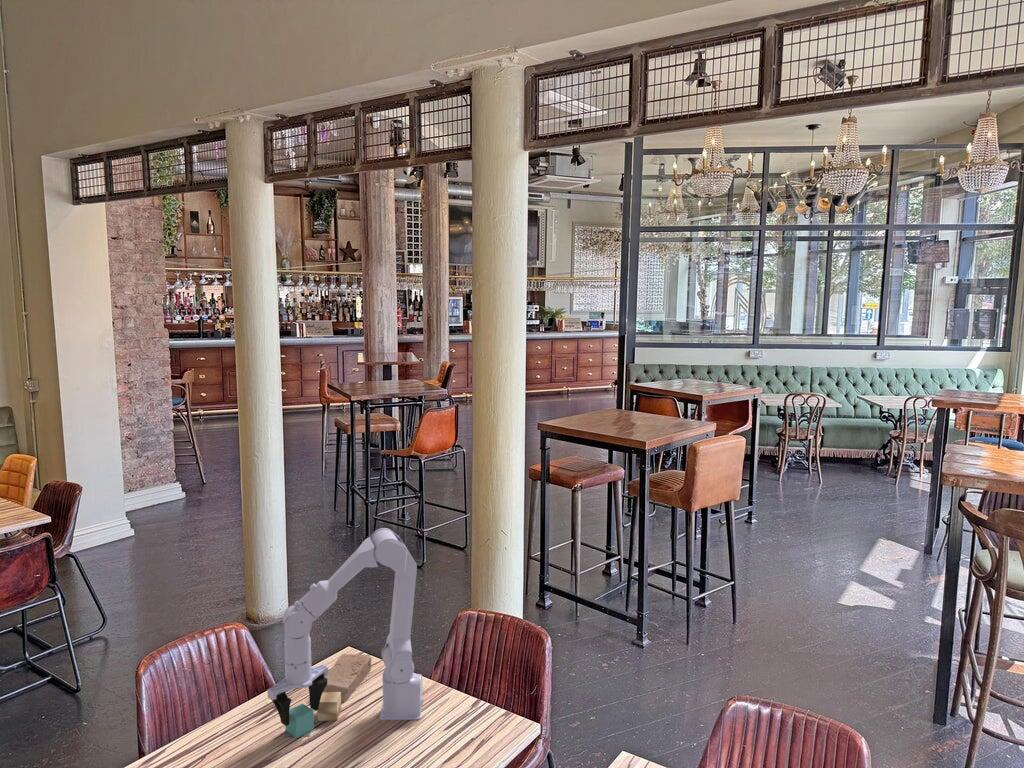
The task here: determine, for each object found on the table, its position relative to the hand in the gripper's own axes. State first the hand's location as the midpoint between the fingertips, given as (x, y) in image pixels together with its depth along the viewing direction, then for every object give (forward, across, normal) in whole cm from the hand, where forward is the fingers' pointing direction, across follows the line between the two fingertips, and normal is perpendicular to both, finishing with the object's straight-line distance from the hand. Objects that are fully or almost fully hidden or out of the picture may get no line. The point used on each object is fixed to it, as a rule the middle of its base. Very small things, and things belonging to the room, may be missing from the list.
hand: (299, 716), depth 158 cm
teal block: (+3, 0, 0) cm, 3 cm away
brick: (+4, +19, +9) cm, 21 cm away
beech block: (+3, +8, 0) cm, 8 cm away
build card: (+3, +3, -3) cm, 5 cm away
